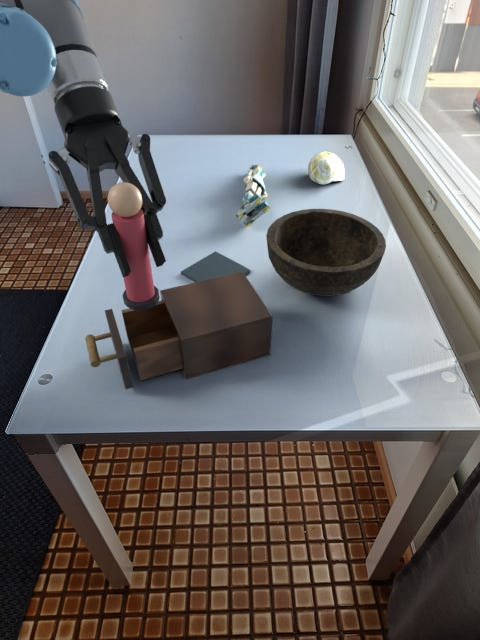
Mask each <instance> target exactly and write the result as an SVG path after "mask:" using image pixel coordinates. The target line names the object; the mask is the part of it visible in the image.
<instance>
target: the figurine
mask: <svg viewBox="0 0 480 640" xmlns="http://www.w3.org/2000/svg"><path fill="white" fill-rule="evenodd" d="M265 178H266V172H265V171H263V166H262V165H261V164H252V165H250V166H249V169H248V172H247V173H246V174H245V176H244V178H243V182H244V184H245V186H244V187H245V195H244V197H243V198H242V205H241V206H240V207H239V210H238V212H237V213H236V214H235V217H236V218H237V220H241V219H243V218H245V216H246V218H245V219H244V220H243V221H242V224H243V225H244V226H245V228H249V227H250V226H251V225H252V224H254V222H256V221H257V220H259V218H261V217H262V216H263V215H264V214H266V213H267V212H268V211H269V210H270V204H269V202H266V201H264V200H265V199H266V198H267V197H268V192H267V191H266V186H265V182H264V179H265Z"/></svg>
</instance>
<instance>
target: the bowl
mask: <svg viewBox="0 0 480 640" xmlns="http://www.w3.org/2000/svg"><path fill="white" fill-rule="evenodd" d="M265 237H266V245H267V253H268V259H269V262H270V263H271V265H272V267H273V269H274V271H275V272H276V274H277V275H278V276H279V277H280V278H281V279H282V281H283V282H284V283H286V284H287V285H288V286H290V287H292V288H293V289H294V290H295V289H296V290H297V291H299V292H303V293H306V294H309V295H313V296H320V297H333V296H339V295H344V294H347V293H351V292H352V291H354V290H357V289H358V288H360V287H361V286H363V285H364V284H365V283H367V282H368V281H369V280H370V279H371V278H372V277H373V275H374V274H376V272H377V270H378V269H379V267H380V264H381V262H382V260H383V258H384V255H385V251H386V248H387V243H386V239H385V236H384V234H383V233H382V231H381V230H380V229H379V227H377V226H376V225H374V224H373V223H372V222H370V221H369V220H367V219H366V218H364V217H361V216H359V215H356V214H354V213H352V212H351V213H350V212H346V211H344V210H338V209H331V208H307V209H300V210H296V211H292V212H289V213H286V214H284V215H282V216H280V217H278V218H277V219H275V220H274V221H273V222H272V223H271V224H270V226H269V227H268V229H267V231H266V235H265Z"/></svg>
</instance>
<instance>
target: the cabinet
mask: <svg viewBox="0 0 480 640" xmlns="http://www.w3.org/2000/svg"><path fill="white" fill-rule="evenodd" d="M159 295H160V301H162V300H163V301H164V303H165V306H166V308H167V310H168V313H169V315H170V317H171V320H172V322H173V324H174V327H175V329H176V331H177V334H178V336H179V338H180V341H181V350H182V358H183V367H184V368H182V369H181V371H182V374H183V376H184V378H185V380H188V379H191V378H196V377H198V376H202V375H205V374H210V373H212V372H216V371H219V370H223V369H226V368H231V367H233V366H236V365H240V364H244V363H247V362H250V361H255V360H257V359H261V358H264V357H268V356H271V352H272V351H271V350H272V337H273V336H272V334H273V319H274V318H273V315H272V313H271V312H270V310H269V308H268V307H267V306H266V304H265V302H264V301H263V300H262V298H261V296H260V295H259V293H258V291H256V289H255V288H254V286H253V285H252V283H251V281H250V279H248V277H247V275H245V274H244V273H243V271H242V272H238V273H233V274H229V275H225V276H221V277H216V278H212V279H208V280H203V281H199V282H191V283H190V282H189V283H186V284H182V285H178V286H174V287H169V288H163V289H160V290H159Z"/></svg>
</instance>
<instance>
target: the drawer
mask: <svg viewBox="0 0 480 640" xmlns="http://www.w3.org/2000/svg"><path fill="white" fill-rule="evenodd" d="M104 314H105V318H106V322H107V326H108V330H109V332H105V333H102V334H98V335H93V334H87V335H86V336H85V338H84V339H85V340H84V341H85V345H86V348H87V353H88V358H89V363H90V367H92V368H99V366H101V364H102V363H106V362H110V361H113V360H117V363H118V367H119V371H120V375H121V378H122V382H123V386H124V390H129V389H132V388H134V385H133V380H132V375H131V371H130V366H129V362H128V359H127V354H126V351H125V347H124V344H123V341H122V338H121V334H120V330H119V327H118V324H117V321H116V317H115V314H114V310H113V308H109V309H105V310H104ZM121 316H122V320H123V324H124V328H125V333H126V338H127V342H128V346H129V348H130V351H131V354H132V357H133V361H134V364H135V367H136V370H137V373H138V377H139V380H140V381H143V380H147V379H150V378H153V377H154V378H155V377H157V376H161V375H164V374H167V373H172V372H176V371H178V370H182V368H184V367H183V358H182V350H181V341H180V338H179V336H178V334H177V331H176V329H175V327H174V324H173V322H172V320H171V317H170V315H169V313H168V310H167V308H166V306H165V303H164V301H163V300H162V301H161V300H159V301H158V303H157V304H156V305H155V306H153V307H151V308H149V309H146V310H133V309H130V308H125V309H121ZM110 338H111V342H112V347H113V349H114V353H113V354H112V353H111V354H109V355H105V356H101V357H100V354H99V350H98V346H97V342H99V341H101V340H105V339H110Z"/></svg>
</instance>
